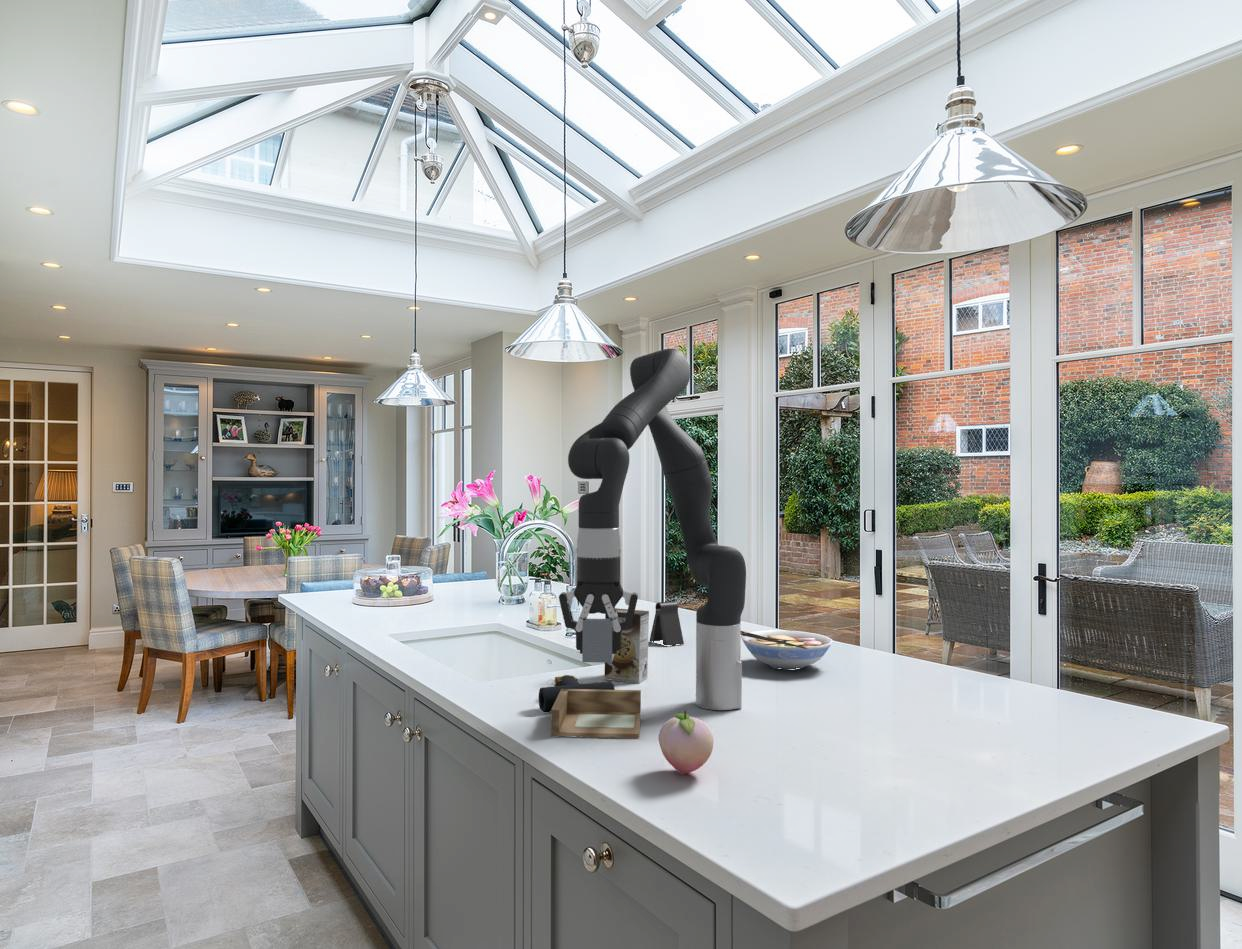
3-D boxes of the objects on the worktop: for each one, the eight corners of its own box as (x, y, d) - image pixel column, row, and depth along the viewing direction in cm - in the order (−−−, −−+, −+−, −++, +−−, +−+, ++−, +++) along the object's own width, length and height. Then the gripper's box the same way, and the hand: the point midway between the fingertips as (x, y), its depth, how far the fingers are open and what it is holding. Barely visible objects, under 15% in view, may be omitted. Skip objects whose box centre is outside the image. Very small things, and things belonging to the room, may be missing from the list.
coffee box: (603, 679, 185) (603, 611, 185) (613, 673, 191) (614, 607, 191) (639, 683, 182) (640, 613, 182) (649, 677, 188) (649, 609, 188)
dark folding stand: (684, 645, 227) (684, 603, 227) (666, 647, 223) (667, 604, 224) (666, 639, 234) (666, 599, 234) (649, 641, 231) (649, 600, 231)
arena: (640, 714, 157) (640, 690, 157) (638, 738, 142) (639, 711, 142) (561, 712, 158) (561, 688, 158) (550, 736, 143) (551, 710, 143)
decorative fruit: (722, 782, 122) (722, 717, 122) (672, 787, 119) (673, 721, 119) (699, 761, 131) (699, 700, 131) (652, 766, 128) (653, 704, 128)
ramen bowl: (855, 671, 196) (855, 638, 196) (791, 683, 183) (791, 648, 183) (782, 653, 216) (782, 623, 216) (719, 663, 203) (719, 631, 204)
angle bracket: (615, 652, 140) (615, 613, 140) (612, 662, 132) (612, 620, 132) (587, 651, 141) (587, 612, 141) (582, 662, 133) (582, 620, 133)
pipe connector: (530, 676, 167) (596, 670, 173) (529, 701, 167) (596, 694, 173) (545, 690, 157) (615, 683, 162) (545, 717, 157) (615, 709, 162)
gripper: (640, 552, 139) (640, 648, 139) (559, 551, 140) (559, 648, 139) (639, 556, 131) (639, 658, 131) (554, 555, 132) (554, 657, 132)
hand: (598, 652), depth 135 cm, fingers closed on angle bracket, 5 cm apart
